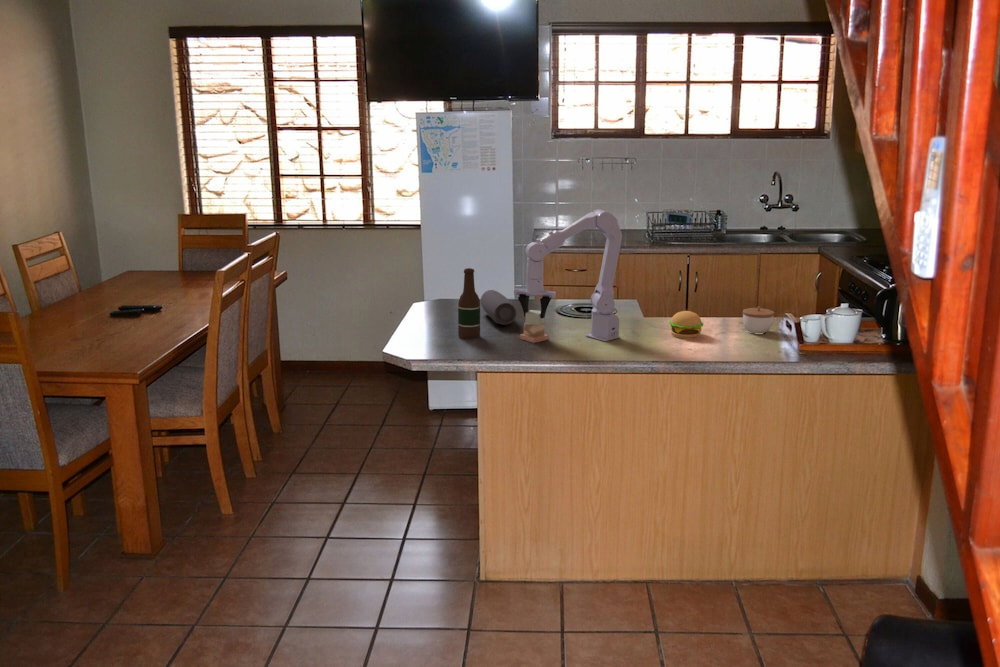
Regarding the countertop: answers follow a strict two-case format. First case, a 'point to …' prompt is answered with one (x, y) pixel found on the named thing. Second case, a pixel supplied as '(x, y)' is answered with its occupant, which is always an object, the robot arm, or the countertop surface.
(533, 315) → the sage block
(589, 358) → the countertop surface
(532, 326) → the maple block
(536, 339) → the plinth
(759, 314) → the lidded jar
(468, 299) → the beer bottle
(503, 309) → the bluetooth speaker
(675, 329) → the hamburger
